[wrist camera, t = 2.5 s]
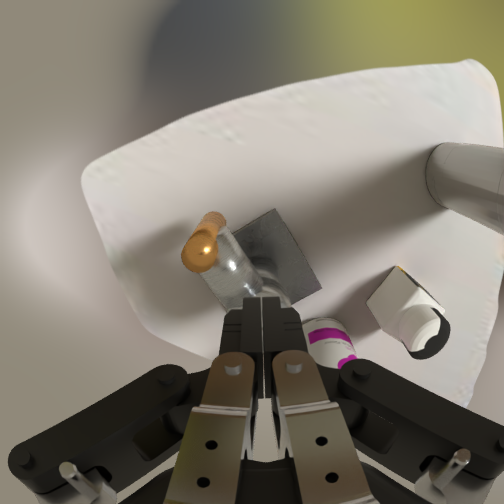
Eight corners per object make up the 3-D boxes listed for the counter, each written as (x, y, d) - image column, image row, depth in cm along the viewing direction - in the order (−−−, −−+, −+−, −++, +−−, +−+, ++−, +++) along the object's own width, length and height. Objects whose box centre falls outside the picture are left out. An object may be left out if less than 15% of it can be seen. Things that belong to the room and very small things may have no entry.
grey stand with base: (275, 208, 35) (280, 225, 28) (320, 284, 38) (333, 315, 31) (193, 257, 37) (180, 284, 30) (244, 324, 41) (242, 360, 34)
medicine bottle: (423, 287, 39) (465, 331, 27) (393, 322, 41) (426, 373, 30) (396, 263, 37) (439, 307, 26) (364, 302, 39) (395, 355, 28)
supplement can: (325, 304, 39) (355, 381, 25) (354, 337, 42) (386, 410, 28) (280, 336, 41) (290, 418, 27) (312, 365, 44) (329, 442, 30)
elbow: (296, 296, 34) (309, 347, 25) (250, 320, 35) (248, 374, 26) (232, 197, 30) (223, 220, 21) (182, 229, 31) (156, 263, 22)
